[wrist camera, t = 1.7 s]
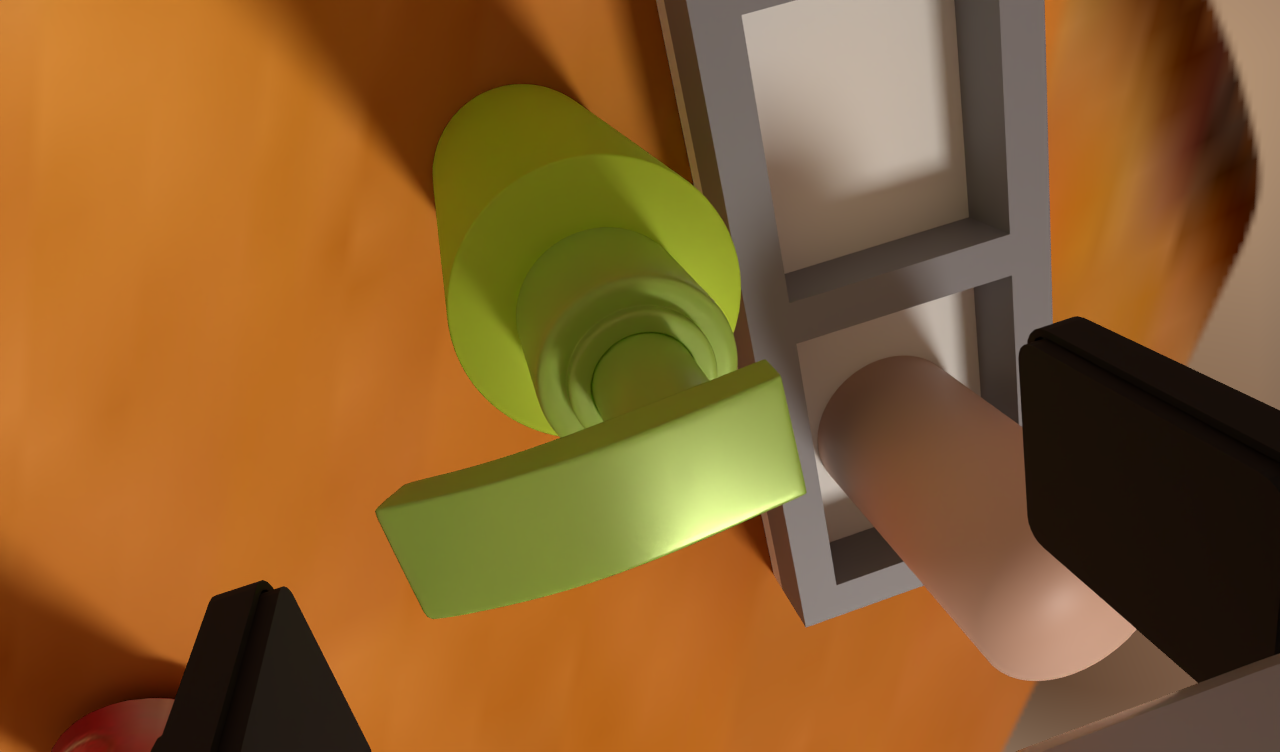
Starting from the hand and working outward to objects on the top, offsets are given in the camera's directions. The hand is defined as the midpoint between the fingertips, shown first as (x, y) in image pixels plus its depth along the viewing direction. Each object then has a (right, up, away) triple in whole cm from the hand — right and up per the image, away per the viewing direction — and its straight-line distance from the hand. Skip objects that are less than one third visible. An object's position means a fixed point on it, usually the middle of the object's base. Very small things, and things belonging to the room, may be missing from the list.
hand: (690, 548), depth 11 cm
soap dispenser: (-5, +8, +18) cm, 21 cm away
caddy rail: (+7, +7, +22) cm, 24 cm away
